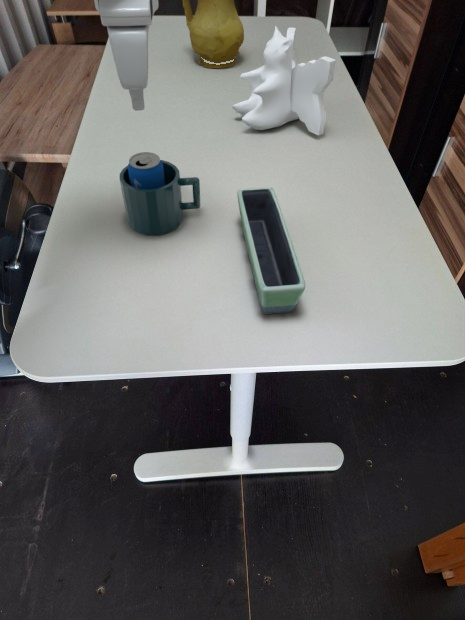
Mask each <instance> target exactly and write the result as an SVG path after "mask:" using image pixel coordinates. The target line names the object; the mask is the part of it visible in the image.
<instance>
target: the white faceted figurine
mask: <svg viewBox="0 0 465 620" xmlns="http://www.w3.org/2000/svg"><path fill="white" fill-rule="evenodd" d="M296 32H297V28H296V27H288V28H287V30H286V35H285V36H284V35H283V34H282V33H281V31H280V29H279V28H278V26H277V25H275V26H274V31H273V34H272V38H271V39H269V40H268V41H267V43H266V44H265V48H264V49H263V53H262V54H263V56H262V59H263V62H264V64H263V65H262V66H259V67H258V68H255V69H252V70H250V71H246V72H242V73H241V74H240V79H241V80H243V81H245V82H246V83H248V84H249V85H250V88H251V93H250V96H249V98H247V99H246V100H243V101H239V102H237V103H234V104H233V105H232V109H233V110H234V111H235V112H236V113H238V114H239V115H241V116H242V118H241V120H242V123H244V124H245V125H246V126H248V127H250V128H251V129H254V130H257V131H258V130H259V131H260V130H261V131H264V130H269V129H274V128H279V127H281V126H283V125H286V124H287V123H290V122H293V121H297V120H299V121H300V122H302V123H304V124H305V126H306V129H307V131H308V132H310V133H312V134H314V135H316V136H321V135H323V134H324V131H325V126H326V119H327V112H326V104H325V96H324V93H325V92H326V90H327V88H328V87H329V86H330V85H331V83H332V82H333V80H334V74H335V68H336V63H337V60H336V59H334V58H331V57H329V56H327V55H325V56H322V57H319V58H317V60H316V59H311V60H309V61H307V62H306V63H305V62H301V63H298V64H297V60H296V59H297V58H296V52H295V43H296V42H295V40H296Z"/></svg>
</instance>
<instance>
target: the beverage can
mask: <svg viewBox="0 0 465 620" xmlns="http://www.w3.org/2000/svg"><path fill="white" fill-rule="evenodd" d="M161 160H162V159H161V157H160V156H159V155H158V154H156V153H154V152H150V151H149V152H148V151H142V152H138V153H135V154H133V155H131V156H130V157H129V159H128V164H127V166H128V173H129V179H130V185H131V186H132V187H135V188H138V189H156V188H160V187H163V186H165V178H164V169H163V163H162V162H161Z"/></svg>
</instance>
